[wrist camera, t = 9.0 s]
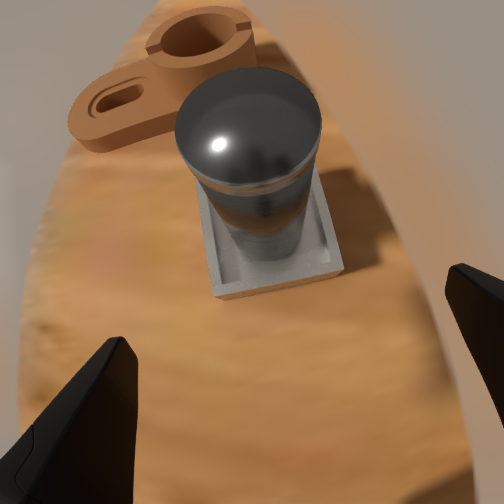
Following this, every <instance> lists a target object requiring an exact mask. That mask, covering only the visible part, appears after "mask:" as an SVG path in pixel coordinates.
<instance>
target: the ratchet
mask: <svg viewBox="0 0 504 504" xmlns="http://www.w3.org/2000/svg"><path fill="white" fill-rule="evenodd" d="M195 182H196V190H197V197H198V204H199V211H200V217H201V224H202V231H203V237H204V243H205V250H206V256H207V262H208V268H209V274H210V280H211V286H212V291H213V297H216V298H218V299H221V300H230V299H235V298H240V297H245V296H250V295H255V294H260V293H265V292H270V291H274V290H279V289H284V288H289V287H293V286H298V285H303V284H307V283H312V282H316V281H321V280H325V279H329V278H334V277H336V276H337V275H338V274H339V273H340V272H342V271H343V270H344V266H343V262H342V258H341V254H340V250H339V246H338V242H337V238H336V234H335V231H334V227H333V223H332V219H331V216H330V212H329V209H328V205H327V202H326V198H325V195H324V191H323V188H322V185H321V181H320V178H319V175H318V171H317V168H316V165H315V163H314V169H313V175H312V181H311V187H310V192H309V198H308V204H307V209H306V215H305V220H304V225H303V231H302V235H301V238H300V241H299V243H298V245H297V246H296V247H295V249H294V250H293V251H292V252H291V253H289V254H288V255H287V256H285V257H283V258H281V259H278V260H275V261H259V260H255V259H252V258H250V257H248V256H247V255H245V254H244V253H243V252H242V251H240V249H239V248H238V247H237V245H236V244H235V242H234V240H233V239H232V237H231V235H230V234H229V232H228V230H227V229H226V227H225V225H224V224H223V222H222V220H221V219H220V217H219V215H218V213H217V212H216V210H215V208H214V207H213V205H212V203H211V202H210V200H209V198H208V197H207V195H206V193H205V192H204V190H203V188H202V187H201V185H200V183H199V181H198V180H197V178H195Z"/></svg>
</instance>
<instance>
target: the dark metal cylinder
mask: <svg viewBox="0 0 504 504" xmlns="http://www.w3.org/2000/svg"><path fill="white" fill-rule="evenodd" d="M321 129H322V118H321V113H320V109H319V106H318V103H317V101H316V99H315V97H314V95H313V94H312V93H311V91H310V90H309V89H308V88H307V87H306V86H305V85H304V84H303V83H301V82H300V81H299V80H297V79H296V78H294V77H292V76H291V75H288V74H286V73H284V72H281V71H278V70H274V69H270V68H263V67H244V68H237V69H232V70H228V71H225V72H222V73H220V74H217V75H215V76H213V77H211V78H209V79H207V80H206V81H204V82H203V83H201V84H200V85H199V86H197V87H196V88H195V89H194V90H193V91H192V92H191V93H190V94H189V95H188V96H187V98H186V99H185V100H184V102H183V103H182V105H181V107H180V109H179V111H178V114H177V117H176V121H175V139H176V144H177V147H178V150H179V152H180V154H181V156H182V158H183V159H184V161H185V163H186V164H187V166H188V168H189V169H190V171H191V172H192V173H193V175H194V176H195V177H196V178H197V180H198V181H199V183H200V185H201V187H202V188H203V190H204V192H205V193H206V195H207V197H208V198H209V200H210V202H211V203H212V205H213V207H214V208H215V210H216V212H217V213H218V215H219V217H220V219H221V220H222V222H223V224H224V225H225V227H226V229H227V230H228V232H229V234H230V235H231V237H232V239H233V240H234V242H235V244H236V245H237V247H238V248H239V249H240V251H242V252H243V253H244V254H245V255H247V256H248V257H250V258H252V259H255V260H259V261H275V260H278V259H281V258H283V257H285V256H287V255H288V254H289V253H291V252H292V251H293V250H294V249H295V247H296V246H297V245H298V243H299V241H300V238H301V235H302V231H303V225H304V220H305V215H306V209H307V204H308V198H309V192H310V187H311V181H312V175H313V169H314V163H315V157H316V154H317V151H318V147H319V142H320V136H321Z"/></svg>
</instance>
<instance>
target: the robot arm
mask: <svg viewBox="0 0 504 504" xmlns="http://www.w3.org/2000/svg"><path fill="white" fill-rule="evenodd" d="M445 296H446V299H447V300H448V303H449V305H450V308H451V310H452V312H453V315H454V317H455V319H456V322H457V324H458V326H459V329H460V331H461V334H462V336H463V338H464V340H465V342H466V344H467V347H468V348H469V351H470V353H471V355H472V357H473V359H474V361H475V363H476V365H477V367H478V369H479V370H480V373H481V375H482V377H483V380H484V382H485V384H486V386H487V388H488V390H489V393H490V395H491V398H492V400H493V402H494V405H495V407H496V409H497V412H498V414H499V417H500V419H501V422H502V425H503V427H504V281H502V280H500V279H498V278H496V277H494V276H491V275H489V274H487V273H484V272H482V271H480V270H478V269H476V268H473V267H471V266H469V265H466V264H464V263H460V264H457V265H453V266H451V267H450V269H449V271H448V276H447V281H446V286H445ZM137 419H138V359H137V356H136V354H135V353H134V351H133V350H132V348H131V347H130V345H129V344H128V342H127V341H126V339H125V338H124V337H121V336H119V337H111V338H109V339H108V340H107V341H106V342H105V343H104V344H103V345H102V346H101V347H100V348H99V349H98V350H97V351H96V353H95V354H94V355H93V356H92V357H91V358H90V359H89V360H88V361H87V362H86V363H85V365H84V366H83V367H82V368H81V369H80V370H79V371H78V372H77V373H76V374H75V376H74V377H73V378H72V379H71V380H70V381H69V382H68V383H67V384H66V386H65V387H64V388H63V389H62V390H61V391H60V392H59V393H58V395H57V396H56V397H55V398H54V399H53V400H52V401H51V403H50V404H49V405H48V406H47V407H46V408H45V409H44V411H43V412H42V413H41V414H40V415H39V416H38V418H37V419H36V420H35V421H34V422H33V424H32V425H31V426H30V427H29V428H28V429H27V431H26V432H25V433H24V434H23V435H22V436H21V438H20V439H19V440H18V441H17V442H16V443H15V445H14V446H13V447H12V448H11V449H10V450H9V451H8V452H7V453H6V454H5V455H4V456H3V457H2V458H1V459H0V504H133V486H134V461H135V445H136V431H137Z"/></svg>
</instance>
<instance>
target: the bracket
mask: <svg viewBox="0 0 504 504" xmlns="http://www.w3.org/2000/svg"><path fill="white" fill-rule="evenodd" d="M146 50H147V52H148V54H149V57H148V58H147V59H144V60H141V61H138V62H135V63H133V64H130V65H127V66H125V67H122V68H119V69H117V70H114V71H112V72H110V73H107V74H105V75H103V76H101V77H99V78H98V79H96V80H95V81H93V82H92V83H91V84H90V85H89V86H87V87H86V88H85V89H84V90H83V91H82V92H81V93H80V95H79V96H78V97H77V99H76V100H75V102H74V103H73V105H72V107H71V110H70V112H69V116H68V128H69V131H70V133H71V134H72V135H73V136H74V137H75V138H76V139H77V140H78V141H79V142H80V143H81V144H82V145H83V146H84V147H85V148H86V149H88V150H90V151H92V152H97V153H103V152H109V151H112V150H115V149H118V148H121V147H124V146H127V145H130V144H133V143H136V142H139V141H142V140H145V139H148V138H151V137H154V136H157V135H160V134H164V133H167V132H170V131H174V130H175V121H176V117H177V114H178V111H179V109H180V107H181V105H182V103H183V102H184V100H185V99H186V98H187V96H188V95H189V94H190V93H191V92H192V91H193V90H194V89H195V88H196V87H197V86H199V85H200V84H201V83H203V82H204V81H206V80H207V79H209V78H211V77H213V76H215V75H217V74H220V73H222V72H225V71H228V70H232V69H237V68H244V67H257V58H256V50H255V42H254V34H253V30H252V26H251V20H250V18H249V17H248V16H247V15H246V14H244V13H243V12H241V11H239V10H236V9H233V8H229V7H222V6H210V7H202V8H196V9H192V10H189V11H186V12H183V13H181V14H178V15H176V16H174V17H172V18H170V19H169V20H167V21H165V22H164V23H163V24H161V25H160V26H159V27H158V28H157V29H156V30H155V31H154V32H153V33H152V34H151V36H150V37H149V39H148V41H147V43H146ZM132 101H133V102H132ZM129 102H130V103H129ZM126 103H127V104H126ZM121 105H122V106H121ZM118 106H119V107H118Z"/></svg>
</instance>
